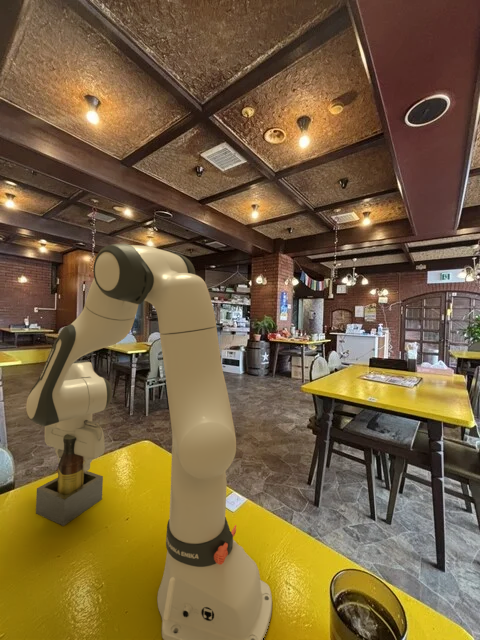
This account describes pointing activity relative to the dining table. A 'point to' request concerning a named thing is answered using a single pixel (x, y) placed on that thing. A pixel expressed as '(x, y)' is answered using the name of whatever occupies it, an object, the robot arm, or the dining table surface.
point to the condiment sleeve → (68, 499)
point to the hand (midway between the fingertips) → (73, 466)
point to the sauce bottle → (69, 468)
